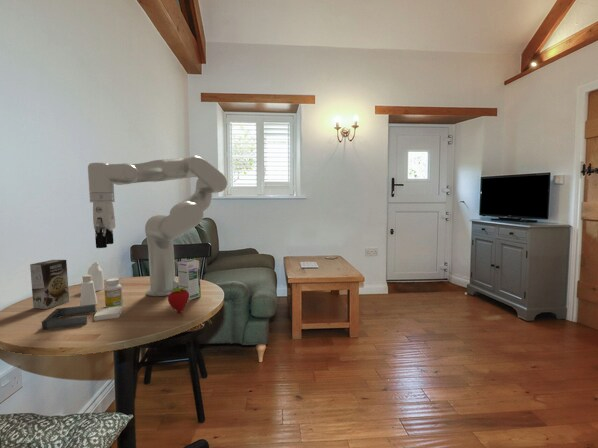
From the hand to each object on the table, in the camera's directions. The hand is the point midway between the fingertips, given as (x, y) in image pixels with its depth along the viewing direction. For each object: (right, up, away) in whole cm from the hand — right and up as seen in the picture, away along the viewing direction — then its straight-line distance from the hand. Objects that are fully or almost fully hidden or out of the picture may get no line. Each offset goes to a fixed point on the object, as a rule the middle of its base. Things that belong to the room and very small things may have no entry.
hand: (105, 245), depth 115 cm
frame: (-3, -23, -12) cm, 26 cm away
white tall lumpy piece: (-17, -20, +22) cm, 34 cm away
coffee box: (-22, -22, +3) cm, 31 cm away
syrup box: (+28, -21, +9) cm, 36 cm away
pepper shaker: (-7, -22, +2) cm, 23 cm away
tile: (+6, -23, -9) cm, 25 cm away
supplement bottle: (+3, -22, +1) cm, 22 cm away
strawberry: (+29, -22, -7) cm, 38 cm away
